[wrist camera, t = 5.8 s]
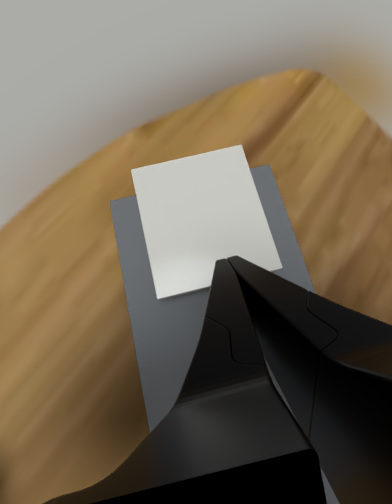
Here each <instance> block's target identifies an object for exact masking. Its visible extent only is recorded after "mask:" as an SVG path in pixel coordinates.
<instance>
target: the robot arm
mask: <svg viewBox="0 0 392 504" xmlns="http://www.w3.org/2000/svg"><path fill="white" fill-rule="evenodd" d="M264 358H265V359H266V361H267V363H268V365H269V367H270V369H271V371H272V373H273V375H274V377H275V379H276V381H277V383H278V385H279V387H280V389H281V391H282V393H283V394H284V396H285V398H286V400H287V402H288V404H289V406H290V408H291V410H292V412H293V414H294V416H295V417H294V416H293V414H292V413H291V411H290V410H289V408H288V406H287V405H286V403H285V402H284V400H283V399H282V397H281V395H280V394H279V392H278V391H277V389H276V387H275V386H274V384H273V381H272V379H271V376H270V374H269V371H268V368H267V365H266V362H265V359H264ZM295 418H296V419H295ZM296 420H297V421H296ZM320 467H321V468H320ZM321 469H322V470H323V472H324V474H325V476H326V478H327V480H328V482H329V484H330V486H331V488H332V490H333V492H334V494H335V496H336V498H337V500H338V502H339V504H392V325H389V324H387V323H384V322H382V321H379V320H377V319H374V318H371V317H369V316H366V315H364V314H361V313H359V312H356V311H354V310H351V309H349V308H346V307H344V306H342V305H339V304H337V303H334V302H332V301H330V300H328V299H326V298H324V297H321V296H319V295H317V294H315V293H313V292H311V291H308V290H307V289H305V288H303V287H301V286H299V285H297V284H295V283H293V282H291V281H288V280H286V279H284V278H282V277H280V276H278V275H276V274H274V273H272V272H270V271H268V270H266V269H264V268H262V267H260V266H258V265H256V264H254V263H252V262H250V261H248V260H246V259H244V258H242V257H240V256H237V255H235V256H231V257H228V258H227V259H226V258H223V259H219V260H216V262H215V266H214V271H213V276H212V281H211V286H210V291H209V296H208V301H207V306H206V311H205V318H204V321H203V326H202V330H201V334H200V338H199V341H198V344H197V347H196V350H195V353H194V356H193V358H192V361H191V364H190V366H189V369H188V372H187V374H186V377H185V380H184V382H183V385H182V388H181V390H180V393H179V395H178V397H177V399H176V401H175V403H174V405H173V407H172V408H171V410H170V411H169V412H168V414H167V415H166V416H165V417H164V418H163V419H162V420H161V421H160V422H159V424H158V425H157V426H156V427H155V428H154V429H153V430H152V431H151V432H150V434H149V435H148V436H147V437H146V438H145V439H144V440H143V441H142V442H141V444H140V445H139V446H138V447H137V448H136V449H135V450H134V451H133V452H132V453H131V455H130V456H129V457H128V458H127V459H126V460H125V461H124V462H123V463H122V464H121V465H120V466H119V467H118V468H117V469H116V470H115V471H114V472H113V473H111V474H110V475H109V476H107V477H106V478H105V479H103V480H101V481H100V482H98V483H96V484H94V485H93V486H90V487H88V488H85V489H83V490H80V491H76V492H73V493H69V494H65V495H62V496H59V497H56V498H53V499H50V500H48V501H47V502H45V503H43V504H327V500H326V495H325V490H324V484H323V479H322V474H321Z"/></svg>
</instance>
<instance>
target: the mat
mask: <svg viewBox="0 0 392 504" xmlns="http://www.w3.org/2000/svg"><path fill="white" fill-rule="evenodd" d="M250 172H251V175H252V178H253V181H254V184H255V187H256V190H257V193H258V196H259V199H260V202H261V205H262V208H263V211H264V214H265V217H266V220H267V223H268V226H269V229H270V232H271V235H272V238H273V241H274V244H275V246H276V249H277V252H278V255H279V258H280V261H281V264H282V267H283V268H281V269H279V270H277V271H275V272H272V273H274V274H276V275H278V276H280V277H282V278H284V279H286V280H288V281H291V282H293V283H295V284H297V285H299V286H301V287H303V288H305V289H307V290H308V291H311V292H313V293H315V290H314V287H313V284H312V282H311V279H310V276H309V273H308V271H307V268H306V265H305V262H304V259H303V257H302V254H301V251H300V248H299V245H298V243H297V240H296V237H295V234H294V232H293V229H292V226H291V223H290V220H289V218H288V215H287V212H286V209H285V207H284V204H283V201H282V198H281V195H280V193H279V190H278V187H277V184H276V181H275V179H274V176H273V173H272V170H271V168H270V165H265V166H260V167H256V168H252V169H250ZM110 206H111V212H112V218H113V224H114V229H115V235H116V241H117V247H118V252H119V258H120V264H121V270H122V275H123V281H124V287H125V293H126V298H127V304H128V310H129V316H130V322H131V327H132V333H133V339H134V345H135V350H136V356H137V362H138V368H139V373H140V379H141V385H142V391H143V396H144V402H145V408H146V414H147V419H148V425H149V431H150V432H151V431H152V430H153V429H154V428H155V427H156V426H157V425H158V424H159V422H160V421H161V420H162V419H163V418H164V417H165V416H166V415H167V414H168V412H169V411H170V410H171V408H172V407H173V405H174V403H175V401H176V399H177V397H178V395H179V393H180V390H181V388H182V385H183V382H184V380H185V377H186V374H187V372H188V369H189V366H190V364H191V361H192V358H193V356H194V353H195V350H196V347H197V344H198V341H199V338H200V334H201V330H202V326H203V321H204V318H205V311H206V306H207V301H208V296H209V291H210V288H207V289H203V290H199V291H195V292H191V293H187V294H183V295H179V296H175V297H171V298H167V299H163V300H159V299H157V295H156V290H155V285H154V280H153V275H152V270H151V265H150V260H149V255H148V250H147V246H146V241H145V236H144V231H143V226H142V221H141V216H140V211H139V206H138V201H137V196H136V195H134V196H130V197H126V198H121V199H117V200H113V201H110ZM315 294H316V293H315ZM264 359H265V358H264ZM265 362H266V365H267V368H268V371H269V374H270V376H271V379H272V381H273V384H274V386H275V387H276V389H277V391H278V392H279V394H280V395H281V397H282V399H283V400H284V402H285V403H286V405H287V406H288V408H289V410H290V411H291V413H292V414H293V412H292V410H291V408H290V406H289V404H288V402H287V400H286V398H285V396H284V394H283V393H282V391H281V389H280V387H279V385H278V383H277V381H276V379H275V377H274V375H273V373H272V371H271V369H270V367H269V365H268V363H267V361H266V359H265ZM293 416H294V414H293ZM294 417H295V416H294ZM295 419H296V418H295ZM296 421H297V420H296ZM320 468H321V467H320ZM321 474H322V479H323V484H324V490H325V495H326V500H327V504H339V502H338V500H337V498H336V496H335V494H334V492H333V490H332V488H331V486H330V484H329V482H328V480H327V478H326V476H325V474H324V472H323V470H322V469H321Z"/></svg>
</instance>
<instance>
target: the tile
mask: <svg viewBox="0 0 392 504" xmlns="http://www.w3.org/2000/svg"><path fill="white" fill-rule="evenodd" d="M131 172H132V177H133V182H134V187H135V191H136V196H137V201H138V206H139V211H140V216H141V221H142V226H143V231H144V236H145V241H146V246H147V250H148V255H149V260H150V265H151V270H152V275H153V280H154V285H155V290H156V295H157V299H159V300H163V299H167V298H171V297H175V296H179V295H183V294H187V293H191V292H195V291H199V290H203V289H207V288H210V286H211V281H212V276H213V271H214V266H215V262H216V260H219V259H223V258H226V259H227V258H228V257H231V256H235V255H237V256H240V257H242V258H244V259H246V260H248V261H250V262H252V263H254V264H256V265H258V266H260V267H262V268H264V269H266V270H268V271H270V272H275V271H277V270H279V269H281V268H283V267H282V264H281V261H280V258H279V255H278V252H277V249H276V246H275V244H274V241H273V238H272V235H271V232H270V229H269V226H268V223H267V220H266V217H265V214H264V211H263V208H262V205H261V202H260V199H259V196H258V193H257V190H256V187H255V184H254V181H253V178H252V175H251V172H250V169H249V166H248V163H247V160H246V157H245V154H244V151H243V148H242V145H238V146H234V147H229V148H225V149H220V150H216V151H212V152H207V153H203V154H198V155H194V156H189V157H185V158H181V159H176V160H172V161H167V162H163V163H158V164H154V165H150V166H145V167H141V168H136V169H132V170H131Z"/></svg>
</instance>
